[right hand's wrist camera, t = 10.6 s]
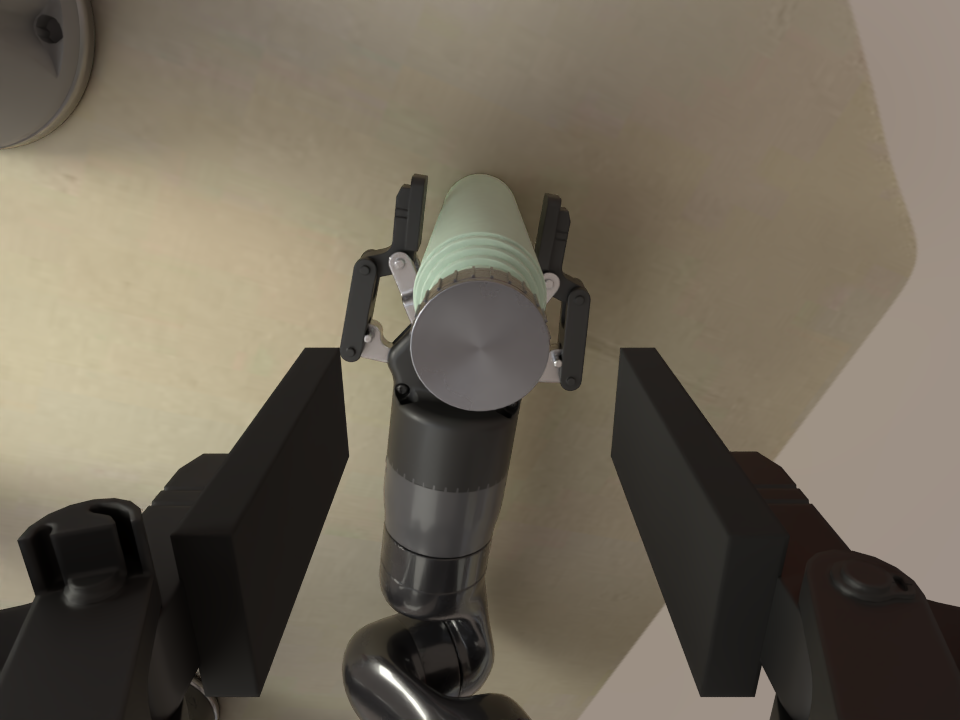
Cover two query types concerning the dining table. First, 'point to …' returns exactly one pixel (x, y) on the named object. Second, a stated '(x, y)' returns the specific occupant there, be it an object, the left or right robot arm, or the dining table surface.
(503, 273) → the cap
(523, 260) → the bottle
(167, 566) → the right robot arm
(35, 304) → the dining table surface
